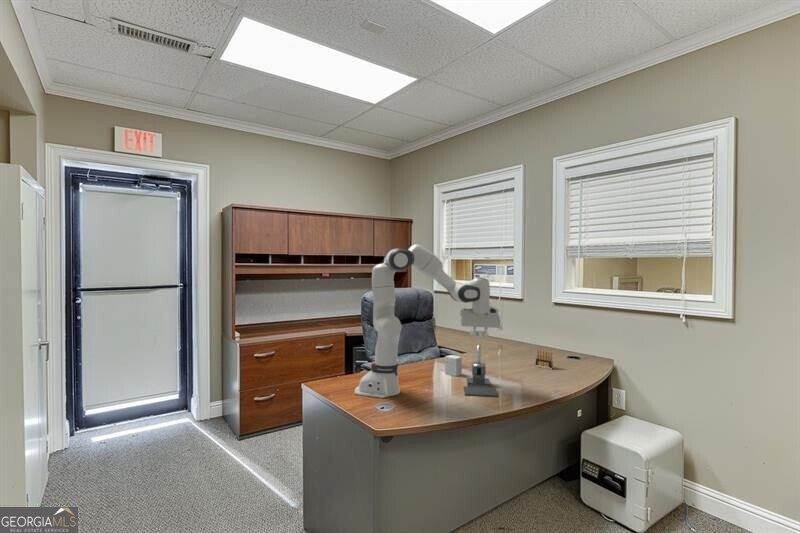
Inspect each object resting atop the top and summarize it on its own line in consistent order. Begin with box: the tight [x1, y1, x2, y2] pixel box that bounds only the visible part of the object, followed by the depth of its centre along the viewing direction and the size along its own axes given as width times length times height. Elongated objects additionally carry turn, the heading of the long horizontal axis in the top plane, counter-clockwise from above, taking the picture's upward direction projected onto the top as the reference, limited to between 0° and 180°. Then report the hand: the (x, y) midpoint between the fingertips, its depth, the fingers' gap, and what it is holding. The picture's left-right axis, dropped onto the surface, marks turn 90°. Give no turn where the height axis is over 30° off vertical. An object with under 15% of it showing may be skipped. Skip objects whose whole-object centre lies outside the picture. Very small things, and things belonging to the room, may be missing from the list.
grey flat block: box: [469, 329, 489, 339], centre depth 214 cm, size 9×14×3 cm, turn 173°
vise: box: [466, 344, 492, 388], centre depth 216 cm, size 12×10×21 cm
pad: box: [463, 386, 499, 398], centre depth 202 cm, size 16×12×1 cm
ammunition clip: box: [535, 347, 554, 368], centre depth 254 cm, size 11×2×12 cm, turn 44°
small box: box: [444, 354, 463, 378], centre depth 234 cm, size 8×6×10 cm
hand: (480, 335), depth 209 cm, fingers closed on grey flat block, 2 cm apart
